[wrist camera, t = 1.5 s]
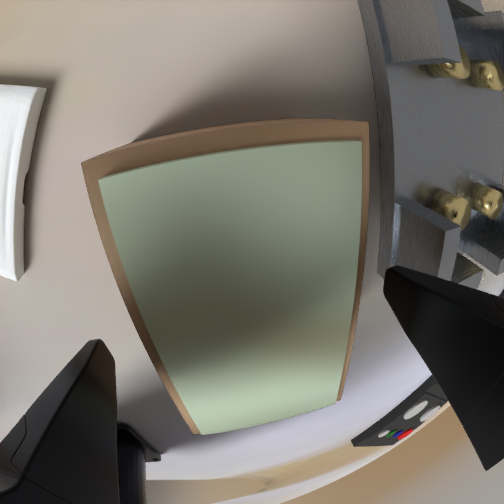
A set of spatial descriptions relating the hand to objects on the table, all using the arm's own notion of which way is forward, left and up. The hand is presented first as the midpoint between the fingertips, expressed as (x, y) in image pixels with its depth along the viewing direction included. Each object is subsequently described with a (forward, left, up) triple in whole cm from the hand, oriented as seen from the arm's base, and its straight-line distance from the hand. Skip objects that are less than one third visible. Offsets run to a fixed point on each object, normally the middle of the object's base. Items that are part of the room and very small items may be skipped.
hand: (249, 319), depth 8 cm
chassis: (+4, -12, -4) cm, 13 cm away
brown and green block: (0, 0, -4) cm, 4 cm away
